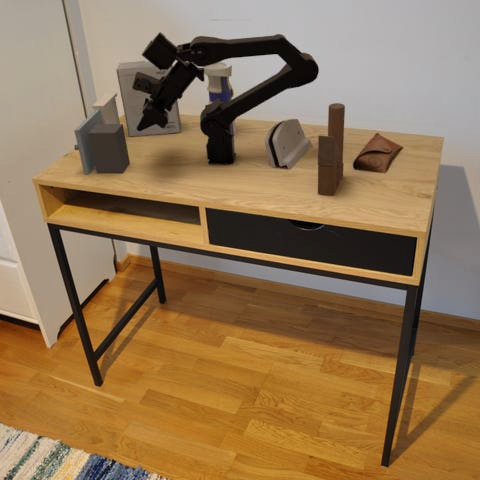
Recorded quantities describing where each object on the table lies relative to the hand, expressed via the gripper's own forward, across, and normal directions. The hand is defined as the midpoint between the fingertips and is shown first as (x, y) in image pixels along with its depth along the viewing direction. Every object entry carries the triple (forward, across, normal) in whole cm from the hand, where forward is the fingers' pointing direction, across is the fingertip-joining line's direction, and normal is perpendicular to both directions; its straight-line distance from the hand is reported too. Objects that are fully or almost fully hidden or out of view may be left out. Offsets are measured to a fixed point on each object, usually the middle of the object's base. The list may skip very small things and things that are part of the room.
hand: (138, 129), depth 140 cm
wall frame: (+14, -18, -1) cm, 23 cm away
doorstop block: (+13, 0, +1) cm, 13 cm away
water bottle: (-8, -19, +22) cm, 30 cm away
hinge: (-19, 0, +34) cm, 39 cm away
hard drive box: (+6, -25, +8) cm, 27 cm away
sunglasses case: (-35, +6, +50) cm, 61 cm away
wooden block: (-24, +19, +40) cm, 50 cm away
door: (+17, -5, -3) cm, 18 cm away
